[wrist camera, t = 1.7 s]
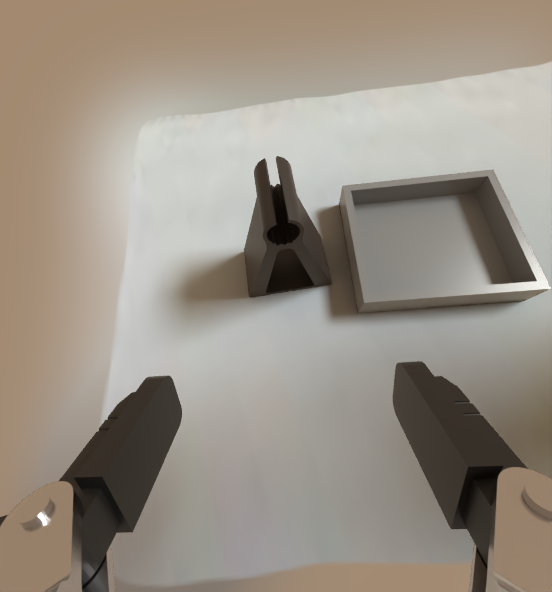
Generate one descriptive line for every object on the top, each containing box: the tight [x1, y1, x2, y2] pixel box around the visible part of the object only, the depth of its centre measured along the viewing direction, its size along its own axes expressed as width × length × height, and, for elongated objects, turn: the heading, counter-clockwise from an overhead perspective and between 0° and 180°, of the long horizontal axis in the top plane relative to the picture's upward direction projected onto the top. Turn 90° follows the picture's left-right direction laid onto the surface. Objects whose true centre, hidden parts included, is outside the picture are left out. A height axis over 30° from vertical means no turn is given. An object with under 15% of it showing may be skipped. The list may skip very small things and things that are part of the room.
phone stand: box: [244, 156, 331, 297], centre depth 24 cm, size 9×6×12 cm, turn 97°
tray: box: [339, 170, 551, 313], centre depth 27 cm, size 16×14×3 cm
